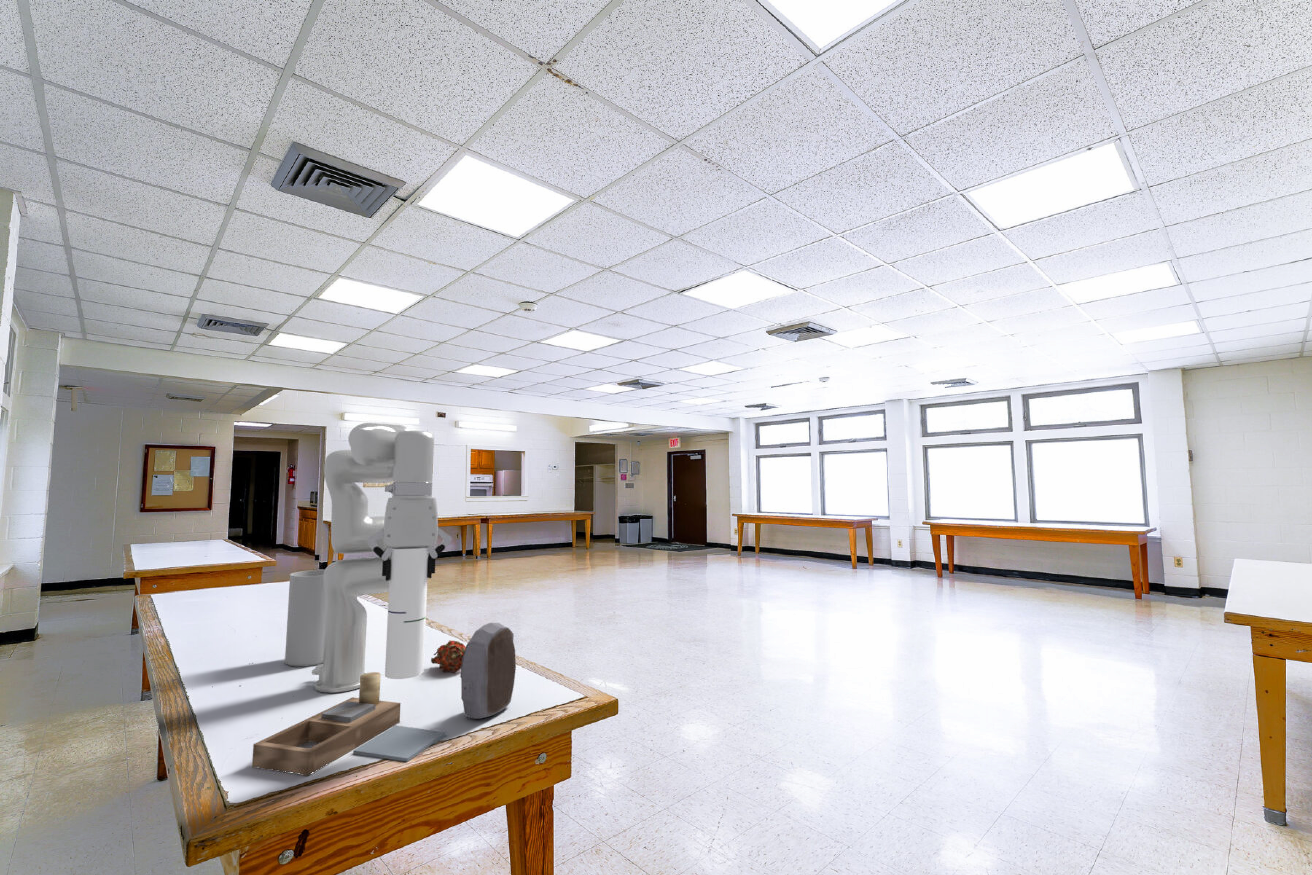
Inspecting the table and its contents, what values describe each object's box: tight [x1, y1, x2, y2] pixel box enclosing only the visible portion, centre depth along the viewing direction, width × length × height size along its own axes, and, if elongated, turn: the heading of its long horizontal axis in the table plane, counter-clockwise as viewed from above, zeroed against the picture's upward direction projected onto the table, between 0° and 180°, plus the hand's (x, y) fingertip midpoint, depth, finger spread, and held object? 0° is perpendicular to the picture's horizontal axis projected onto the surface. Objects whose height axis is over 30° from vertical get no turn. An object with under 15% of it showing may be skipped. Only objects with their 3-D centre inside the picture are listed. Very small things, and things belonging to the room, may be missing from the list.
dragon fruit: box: [430, 640, 466, 673], centre depth 162 cm, size 8×8×12 cm
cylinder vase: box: [284, 569, 326, 668], centre depth 169 cm, size 12×12×25 cm
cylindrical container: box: [384, 547, 429, 680], centre depth 118 cm, size 7×7×25 cm
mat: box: [352, 724, 447, 762], centre depth 116 cm, size 12×12×1 cm
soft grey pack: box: [459, 622, 517, 719], centre depth 133 cm, size 15×8×20 cm, turn 160°
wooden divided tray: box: [251, 671, 402, 776], centre depth 116 cm, size 12×24×10 cm, turn 166°
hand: (408, 577), depth 118 cm, fingers closed on cylindrical container, 7 cm apart
